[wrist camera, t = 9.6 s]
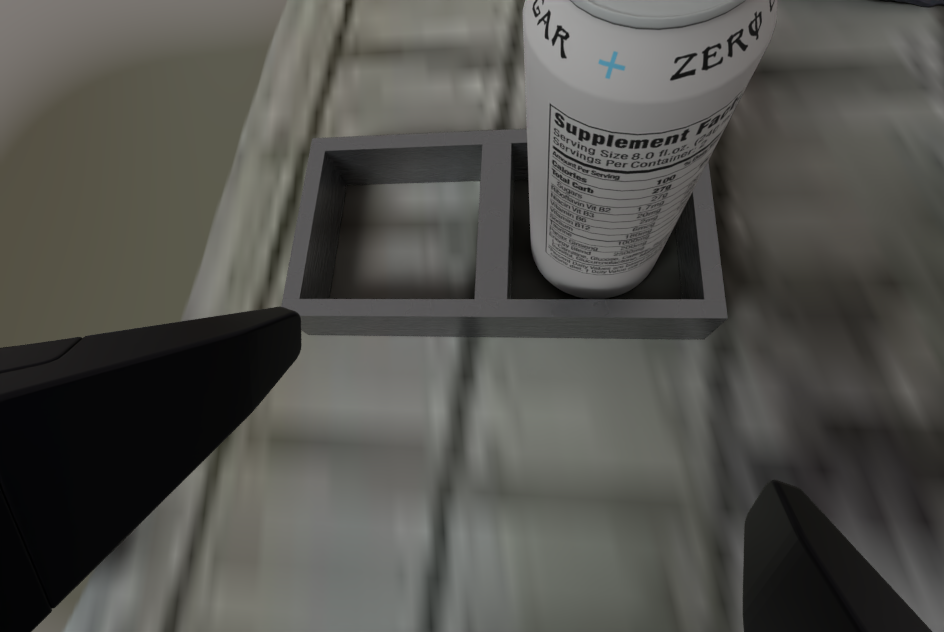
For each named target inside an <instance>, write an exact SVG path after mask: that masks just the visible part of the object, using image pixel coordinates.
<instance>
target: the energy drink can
mask: <svg viewBox="0 0 944 632" xmlns="http://www.w3.org/2000/svg"><path fill="white" fill-rule="evenodd" d="M776 22H777V0H525V4H524V8H523V33H524V62H525V91H526V119H527V148H528V177H529V206H530V235H531V251H532V255H533V259H534V261H535V263H536V265H537V267H538V269H539V271H540V272H541V273H542V275H543V276H544V277H545V278H546V279H547V280H548V281H549V282H550V283H551V284H552V285H554V286H555V287H556V288H558V289H560V290H562V291H564V292H565V293H568V294H571V295H573V296H576V297H580V298H587V299H606V298H610V297H615V296H619V295H621V294H623V293H626V292H628V291H630V290H631V289H633V288H634V287H636V286H637V285H639V284H640V283H641V282H642V281H643V280H644V279H645V278H646V277H647V276H648V275H649V273H650V271H651V270H652V268H653V267H654V265H655V263H656V261H657V259H658V257H659V255H660V253H661V252H662V250H663V248H664V246H665V244H666V242H667V240H668V238H669V236H670V234H671V232H672V230H673V228H674V226H675V224H676V222H677V221H678V219H679V217H680V215H681V213H682V211H683V209H684V207H685V205H686V203H687V201H688V199H689V197H690V195H691V193H692V192H693V190H694V188H695V186H696V184H697V182H698V180H699V178H700V176H701V174H702V172H703V170H704V168H705V166H706V164H707V162H708V161H709V159H710V157H711V155H712V153H713V151H714V149H715V147H716V145H717V143H718V141H719V139H720V137H721V135H722V133H723V132H724V130H725V128H726V126H727V124H728V122H729V120H730V118H731V116H732V114H733V112H734V110H735V108H736V106H737V104H738V102H739V101H740V99H741V97H742V95H743V93H744V91H745V89H746V87H747V85H748V83H749V81H750V79H751V77H752V75H753V73H754V72H755V70H756V68H757V66H758V64H759V62H760V60H761V58H762V56H763V54H764V52H765V50H766V48H767V46H768V44H769V42H770V41H771V37H772V34H773V31H774V28H775V25H776Z"/></svg>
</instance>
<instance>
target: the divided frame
mask: <svg viewBox="0 0 944 632" xmlns="http://www.w3.org/2000/svg"><path fill="white" fill-rule="evenodd" d="M519 179H529V177H528V148H527V129H509V130H487V131H464V132H442V133H420V134H398V135H376V136H354V137H331V138H312V143H311V148H310V154H309V159H308V165H307V170H306V176H305V181H304V186H303V192H302V197H301V203H300V208H299V213H298V219H297V224H296V230H295V235H294V241H293V246H292V251H291V257H290V262H289V268H288V273H287V279H286V284H285V289H284V295H283V300H282V306H281V307H284V308H287V309H290V310H293V311H295V312H297V313H298V314H299V315H300V317H301V330H302V331H304V332H305V333H307V334H308V335H363V336H449V337H536V338H622V339H705V338H706V337H707V336H709V335H710V334H711V333H712V332H713V331H714V330H715V329H716V328H717V327H719V326H720V325H721V324H722V323H723V322H724V321H725V320H726V319H727V318H728V316H727V308H726V300H725V292H724V284H723V276H722V268H721V260H720V251H719V243H718V235H717V227H716V219H715V211H714V203H713V195H712V187H711V178H710V170H709V162H707V164H706V166H705V168H704V170H703V172H702V174H701V176H700V178H699V180H698V182H697V184H696V186H695V188H694V190H693V192H692V193H691V195H690V197H689V199H688V201H687V203H686V205H685V207H684V209H683V211H682V213H681V215H680V217H679V219H678V221H677V222H676V224H675V230H676V241H677V252H678V262H679V273H680V284H681V295H682V299H511V291H512V252H513V213H514V180H519ZM456 181H481V182H480V202H479V221H478V241H477V260H476V280H475V299H329V297H330V290H331V284H332V277H333V271H334V264H335V258H336V251H337V244H338V238H339V231H340V225H341V218H342V212H343V205H344V198H345V192H346V185H360V184H392V183H424V182H456Z"/></svg>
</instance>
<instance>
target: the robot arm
mask: <svg viewBox="0 0 944 632" xmlns="http://www.w3.org/2000/svg"><path fill="white" fill-rule="evenodd" d="M300 350H301V317H300V315H299V314H298V313H297V312H295V311H293V310H290V309H287V308H284V307H274V308H268V309H261V310H254V311H248V312H241V313H234V314H228V315H221V316H215V317H208V318H201V319H195V320H188V321H182V322H175V323H169V324H162V325H156V326H149V327H142V328H135V329H129V330H123V331H116V332H109V333H103V334H96V335H90V336H85V337H84V338H81V337H75V338H69V339H62V340H56V341H48V342H42V343H35V344H27V345H20V346H12V347H3V348H0V632H31V631H32V630H33V629H35V627H36V626H38V624H40V623H41V622H42V621H43V620H44V619H45V618H46V617H47V616H48V615H49V614H50V613H51V611H52V608H55V607H56V606H57V605H58V604H59V603H60V602H61V601H62V600H63V599H64V598H65V597H66V596H67V595H68V594H69V593H70V592H71V591H72V590H73V589H74V588H75V587H76V586H78V585H79V584H80V583H81V581H83V580H84V579H85V578H86V577H87V576H88V575H89V574H90V573H91V572H92V571H93V570H94V569H95V568H96V567H97V566H98V565H99V564H100V563H101V562H102V561H103V560H104V559H105V558H106V557H107V556H108V555H109V554H110V553H111V552H112V551H113V550H114V549H115V548H116V547H117V546H118V545H119V544H120V543H121V542H122V541H123V540H124V539H125V538H126V537H127V536H128V535H129V534H130V533H131V532H132V531H133V530H134V529H135V528H136V527H137V526H138V525H139V524H140V523H141V522H142V521H143V520H144V519H145V518H146V517H147V516H148V515H149V514H150V513H151V512H152V511H153V510H154V509H155V508H156V507H157V506H158V505H159V504H160V503H161V502H162V501H163V500H164V499H165V498H166V497H167V496H168V495H169V494H170V493H171V492H172V491H173V490H174V489H175V488H176V487H177V486H178V485H180V484H181V483H182V482H183V481H184V480H185V479H186V478H187V477H188V476H189V475H190V474H191V473H192V472H193V471H194V470H195V469H196V468H197V467H198V466H199V465H200V464H201V463H202V462H203V461H204V460H205V459H206V458H207V457H208V456H209V455H210V454H211V453H212V452H213V451H214V450H215V449H216V448H217V447H218V446H219V445H220V444H221V443H222V442H223V441H224V440H225V439H226V438H227V437H228V436H229V435H230V434H231V433H232V432H233V431H234V430H235V429H236V428H237V427H238V426H239V425H240V424H241V423H242V422H243V421H244V420H245V419H246V418H247V417H248V416H249V415H250V414H251V413H252V412H253V411H254V409H255V408H256V407H257V406H258V405H259V404H260V403H261V401H262V400H263V399H264V398H265V397H266V395H267V394H268V393H269V392H270V390H271V389H272V388H273V387H274V386H275V384H276V383H277V382H278V381H279V380H280V378H281V377H282V376H283V375H284V373H285V372H286V371H287V370H288V369H289V367H290V366H291V365H292V364H293V362H294V361H295V360H296V359H297V357H298V355H299V353H300ZM743 625H744V632H932V631H931V630H930V629H929V628H928V626H927V625H926V624H925V623H924V622H923V621H922V620H921V619H920V618H919V617H918V616H917V615H916V613H915V612H914V611H913V610H912V609H911V608H910V607H909V606H908V605H907V604H906V603H905V602H904V600H903V599H902V598H901V597H900V596H899V595H898V594H897V593H896V592H895V591H894V590H893V589H892V587H891V586H890V585H889V584H888V583H887V582H886V581H885V580H884V579H883V578H882V577H881V576H880V574H879V573H878V572H877V571H876V570H875V569H874V568H873V567H872V566H871V565H870V564H869V563H868V561H867V560H866V559H865V558H864V557H863V556H862V555H861V554H860V553H859V552H858V551H857V550H856V548H855V547H854V546H853V545H852V544H851V543H850V542H849V541H848V540H847V539H846V538H845V537H844V535H843V534H842V533H841V532H840V531H839V530H838V529H837V528H836V527H835V526H834V525H833V524H832V523H831V521H830V520H829V519H828V518H827V517H826V516H825V515H824V514H823V513H822V512H821V511H820V510H819V508H818V507H817V506H816V505H815V504H814V503H813V502H812V501H811V500H810V499H809V498H808V497H807V495H806V494H805V493H804V492H803V491H802V490H801V489H799V488H797V487H795V486H792V485H789V484H786V483H783V482H780V481H778V480H772V481H769V482H768V483H767V484H766V485H765V487H764V488H763V490H762V492H761V493H760V495H759V496H758V498H757V499H756V501H755V503H754V504H753V506H752V507H751V509H750V511H749V512H748V514H747V517H746V521H745V529H744V569H743Z"/></svg>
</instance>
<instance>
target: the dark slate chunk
mask: <svg viewBox="0 0 944 632" xmlns="http://www.w3.org/2000/svg"><path fill="white" fill-rule="evenodd" d="M893 1H897V2H906V3H911V4H915V5H919V6H925V7H929V6H934V5H944V0H893Z"/></svg>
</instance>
